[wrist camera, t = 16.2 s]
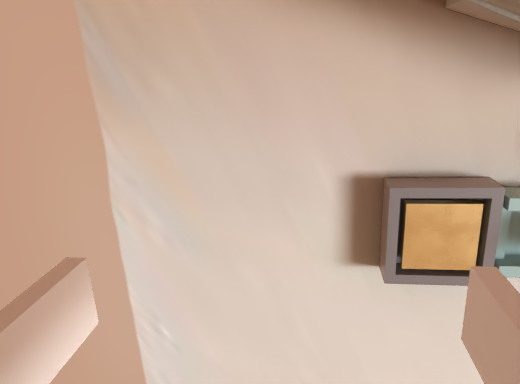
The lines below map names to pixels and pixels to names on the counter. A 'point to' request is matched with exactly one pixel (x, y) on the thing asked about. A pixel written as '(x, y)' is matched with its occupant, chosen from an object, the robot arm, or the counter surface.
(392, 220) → the grey square tray
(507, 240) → the trough
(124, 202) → the counter surface
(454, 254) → the orange square tile
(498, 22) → the geiger counter
